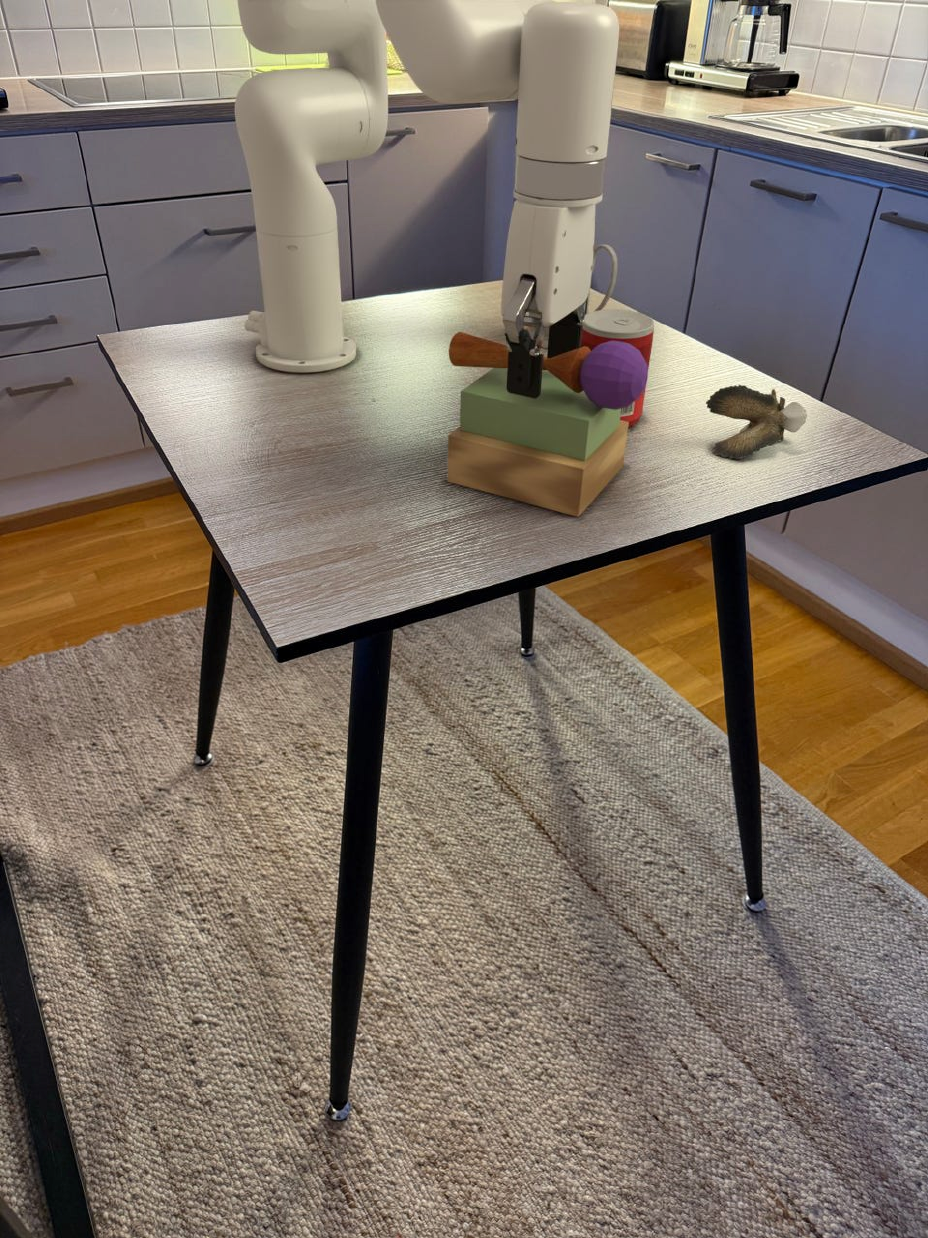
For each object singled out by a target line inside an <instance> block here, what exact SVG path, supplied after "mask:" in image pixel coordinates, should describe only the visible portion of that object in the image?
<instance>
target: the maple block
mask: <svg viewBox="0 0 928 1238" xmlns="http://www.w3.org/2000/svg"><path fill="white" fill-rule="evenodd" d="M628 425H629V422H626V421H622V420H620V423H619V426H618V428H617V429H616V430H615V431H614V432H613V433H612V434H611V435H610V436H609V437H608V438H607V439H606V440H605V441H604V442H603V443H602V444H601V445H600V446H599V447H598V448H597V449H596V450H595V451H594V452H593V453H592V454H591V455H590V456H589V457H588V458H587V459H586V460H585V461H582V460H578V459H574V458H570V457H566V456H562V455H558V454H554V453H550V452H546V451H542V450H538V449H534V448H530V447H526V446H522V445H518V444H514V443H510V442H506V441H502V440H498V439H494V438H490V437H486V436H482V435H478V434H473V433H469V432H465V431H461V430H460V425H459V426H458V427H457V428H455V429H454V430H453V431H451V432H450V433H449V434H447V478H446V479H447V480H446V481H447V482H448V483H452V484H454V485H455V484H456V485H460V486H463V487H467V488H470V489H474V490H477V491H481V492H485V493H487V494H492V495H496V496H500V497H504V498H507V499H510V500H514V501H518V502H522V503H526V504H529V505H532V506H537V507H540V508H542V509H544V508H545V509H547V510H551V511H555V512H559V513H561V514H565V515H569V516H574V517H576V518H579V517H580V516H581V515H582V513H584V512H585V510H586V509H587V508H588V507H589V506H590V505H591V503H592V502H593V501H595V499H596V498H597V497H598V495H599V494H601V492H602V491H603V490H604V489H605V487H607V486H608V484H609V483H610V482H611V481H612V480H613V479H614V478H615V477H616V476H617V474H618V473H619V472H620V471H621V470H622V469H623V468H624V461H625V456H626V455H625V454H626V446H627V439H628V432H629V427H628Z"/></svg>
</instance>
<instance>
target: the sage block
mask: <svg viewBox="0 0 928 1238" xmlns="http://www.w3.org/2000/svg"><path fill="white" fill-rule="evenodd" d="M506 387H507V368H491V369H490V370H488V371H487V372H486V373H485V374H483V375H481V376H480V377H479V378H477V379H476V380H474V381H473V382H471V383H470V384H469V385H467V386H466V387H465V388H463V389H462V390H460V409H459V410H460V417H459V418H460V419H459V426H460V430H461V431H465V432H469V433H473V434H478V435H482V436H486V437H490V438H494V439H498V440H502V441H506V442H510V443H514V444H518V445H522V446H526V447H530V448H534V449H538V450H542V451H546V452H550V453H554V454H558V455H562V456H566V457H570V458H574V459H578V460H582V461H585V460H586V459H587V458H588V457H589V456H590V455H591V454H592V453H593V452H594V451H595V450H596V449H597V448H598V447H599V446H600V445H601V444H602V443H603V442H604V441H605V440H606V439H607V438H608V437H609V436H610V435H611V434H612V433H613V432H614V431H615V430H616V429H617V428H618V426H619V423H620V415H621V409H617V410H614V409H608V408H603V407H598V406H597V405H596V404H594V403H593V402H591V401H590V400H589V399H588V397H587V396H586V394H585V392H584V390H583V391H582V392H580V393H575V392H574V391H573V390H571V389H570V388H569V387H568V386H566V385H565V384H564V383H563V382H561V381H560V380H559V379H558V378H556V377H555V376H554V375H553V374H551V373H550V372H549V371H548V370H542V383H541V394H540V396H539V397H537V398H536V399H534V398H530V397H525V396H521V395H516V394H512V393H509V392H508V391H507V389H506Z"/></svg>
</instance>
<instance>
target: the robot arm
mask: <svg viewBox="0 0 928 1238" xmlns="http://www.w3.org/2000/svg"><path fill="white" fill-rule="evenodd" d="M236 1H237V7H238V14H239V20H240V24H241V28H242V31H243V33H244V36H245V38H246V40H247V42H248V43H249V44H250V45H251V46H252V47H253V48H254V49H256V50H257V51H260V52H262V53H266V54H270V55H284V56H285V55H288V56H289V55H315V54H327V60H328V67H301V68H300V67H299V68H284V69H273V70H267V71H264V72H263V71H262V72H261V73H257V74H255V75H253V76H252V77H250V78H248V79H247V80H246V81H244V83H243V84H242V85H241V86H240V88H239V89H238V92H237V94H236V96H235V101H234V118H235V126H236V129H237V135H238V138H239V141H240V145H241V148H242V152H243V156H244V160H245V164H246V168H247V173H248V179H249V184H250V190H251V191H250V192H251V196H252V207H253V214H254V215H253V216H254V225H255V232H256V233H255V234H256V242H257V243H256V244H257V253H258V262H259V272H260V282H261V283H260V284H261V292H262V302H263V311H264V312H262V311H258V310H251V311H250V312H249V314H248V317H247V319H246V320H245V321H244V330H245V331H247V332H251V333H258V334H259V339H260V342H259V343H258V344H257V345H256V347H255V355H256V359H257V361H258V362H259V363H260V364H261V365H263V366H264V367H266V368H270V369H272V370H275V371H279V372H286V373H298V374H300V373H301V374H303V373H304V374H306V373H309V374H310V373H321V372H327V371H332V370H335V369H336V370H337V369H339V368H342V367H344V366H346V365H348V364H350V363H351V362H352V361H354V359H355V358H356V357H357V345H356V343H355V342H354V341H353V340H352V339H351V338H349V337H347V336H345V335H344V325H343V307H342V305H343V303H342V284H341V268H340V267H341V266H340V249H339V248H340V247H339V229H338V214H337V207H336V203H335V201H334V198H333V196H332V194H331V192H330V191H329V189H328V187H327V185H326V184H325V183H324V181H323V180H322V178H321V176H320V175H319V173H318V170H317V168H316V167H317V166H320V165H325V164H329V163H338V162H346V161H352V160H360V159H364V158H367V157H370V156H372V155H373V154H375V153H376V152H377V151H378V150H379V149H380V148H381V147H382V145H383V143H384V141H385V138H386V134H387V131H388V123H389V122H388V121H389V89H388V88H389V87H388V86H389V85H388V84H389V82H388V53H387V52H388V49H387V37H388V39H389V41H390V43H391V46H392V48H393V49H394V51H395V53H396V55H397V57H398V59H399V61H400V62H401V65H402V67H403V68H404V70H405V71H406V73H407V75H408V77H409V78H410V79H411V81H412V83H413V84H414V86H416V87H417V88H418V90H419V91H421V92H422V93H423V94H424V95H425V96H426V97H428V98H429V99H431V100H433V101H435V102H437V103H441V104H445V105H446V104H448V105H456V104H457V105H459V104H468V103H476V102H486V101H487V102H488V101H505V100H517V113H516V114H517V117H516V133H515V134H516V135H515V137H516V138H515V154H514V155H515V156H514V173H513V177H514V178H513V193H512V197H513V198H514V199H515V201H514V203H513V206H512V211H511V216H510V221H509V227H508V233H507V234H508V235H507V240H506V248H505V257H504V266H503V276H502V286H501V298H500V299H501V302H500V314H501V316H502V323H503V326H504V330H505V332H504V337H505V341H506V349H507V351H508V368H507V387H506V389H507V391H508V392H509V393H512V394H516V395H521V396H525V397H530V398H534V399H536V398H537V397H539V396H540V394H541V383H542V370H543V357H545V356H544V355H545V354H544V353H541V349H542V347H541V346H542V342H543V339H544V336H545V333H546V329H547V327H549V338H548V348H547V352H546V358H552V357H555V356H558V355H561V354H564V353H566V352H569V351H572V350H575V349H578V348H581V338H582V328H583V325H579V324H582V323H583V321H584V318H585V311H584V304H585V301H586V300H587V297H588V293H589V288H590V289H591V286H590V282H591V283H592V276H591V275H592V274H593V273H592V265H593V253H594V249H595V234H596V223H595V222H596V205H597V204H599V203H601V202H602V201H603V197H604V196H603V195H604V188H605V187H604V185H605V177H606V167H607V166H606V165H607V156H608V146H609V138H610V137H609V135H610V126H611V117H612V107H613V98H614V97H613V96H614V88H615V79H616V70H617V69H616V67H617V60H618V59H617V57H618V49H619V41H620V38H619V37H620V21H619V18H618V15H617V13H616V12H615V11H614V10H613V9H612V7H609V6H608V5H604V4H600V3H594V2H578V1H556V0H236ZM527 313H528V314H529V313H534V314H540V315H541V318H536V317H530V316H529V315H526V314H527ZM578 323H579V324H578ZM524 327H527V328H528V327H533V328H536V329H535V332H534V336H533V339H532V338H531V336H530V334H529V332H528V330H527V329H525V328H524Z"/></svg>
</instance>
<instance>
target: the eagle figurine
mask: <svg viewBox="0 0 928 1238" xmlns="http://www.w3.org/2000/svg"><path fill="white" fill-rule="evenodd" d="M705 404H706V405H707V406H706V408H707V409H709V413H712V414H714V415H718V416H722V417H723V416H724V417H727V418H730V419H733V420H744V421H749V422H748V424H746V425H744V426H743V427H742V428H741V429H740V430H739V432H738V433H736V434H734V435H732V436H731V437H728V438H726V439H723V440H720V441H717V442H715V443H714V446H713V447H712V450H713V451H712V452H713V453H712V454H715V456H721V457H723V458H728V457H729V459H735V460H736V459H738V460H739V459H743V458H747V457H749V456H753V455H754V453H756V452H760V450H761V449H764V448H767V447H768V446H769V447H771V446H772V447H773V446H774V445H775V444H776V443H777V442H779V441H780V442H781V443H782V442H783V441H784V437H785V436H784V433H785V430H786V431H787V432H790V433H797V432H798V431H799V430H800V429H801V428H802V426H804V425H805V423H806V422H807V417H808V413H807V412H808V411H807V410H806V408H805V407H804V406H803V405H802V404H800V403H799V402H797V401H792V402H790V403H789V404H787V406H785V405H786V399H785V398H784V397H783V396H780V397H779V401H778V397H777V392H776V389H774V388H772V390H771V393H764V392H760V391H759V390H755V389H752V388H749V387H748V386H747V385H745V384H744V385H741V384H738V385H736V384H735V385H734V386H732V385H730V386H726V387H723V388H719V389H718V390H717V391H714V393H713V394H712V395H710V396H709V399H707V400H706V402H705Z"/></svg>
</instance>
